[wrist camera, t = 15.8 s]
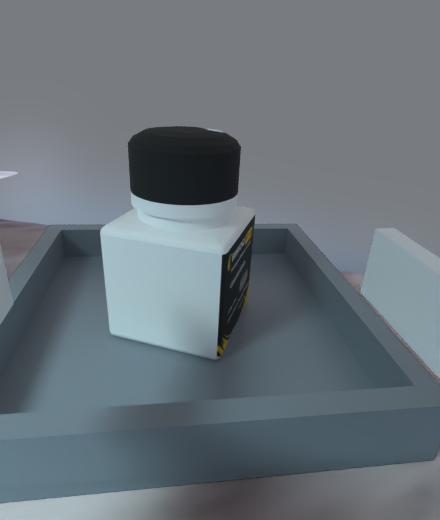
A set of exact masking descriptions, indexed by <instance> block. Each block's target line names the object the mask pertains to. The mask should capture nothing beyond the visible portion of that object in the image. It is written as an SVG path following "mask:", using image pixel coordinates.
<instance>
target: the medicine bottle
mask: <svg viewBox="0 0 440 520" xmlns="http://www.w3.org/2000/svg"><path fill="white" fill-rule="evenodd" d="M240 150H241V146H240V145H239V143H238V142H237V140H236V139H234V138H233V137H231V136H230V135H228V134H226V133H225V132H222V131H218V130H214V129H206V128H198V127H182V126H181V127H180V126H179V127H178V126H176V127H155V128H149V129H145V130H143V131H141V132H140V133H137V134H135V135H134V136H133V137H132V138H131V139H130V141H129V142H128V152H129V171H130V188H131V204H132V206H133V207H134V209H133V210H131V211H129V212H128V213H126V214H124V215H122V216H121V217H119V218H117V219H116V220H114V221H112V222H110V223H109V224H107V225H105V226H104V227H103V228H102V229H101V231H100V237H101V247H102V258H103V268H104V278H105V289H106V299H107V309H108V320H109V330H110V332H111V334H112V335H114V336H118V337H122V338H126V339H130V340H134V341H138V342H142V343H146V344H150V345H155V346H159V347H163V348H167V349H171V350H175V351H179V352H183V353H187V354H192V355H196V356H200V357H204V358H208V359H212V360H217V359H219V358H220V357H221V355H222V353H223V351H224V349H225V347H226V345H227V342H228V340H229V338H230V336H231V334H232V332H233V330H234V328H235V325H236V323H237V321H238V319H239V317H240V315H241V313H242V311H243V309H244V306H245V304H246V302H247V300H248V289H249V278H250V267H251V256H252V244H253V233H254V221H255V211H254V210H253V209H252V208H248V207H241V206H237V195H238V180H239V166H240Z"/></svg>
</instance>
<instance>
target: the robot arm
mask: <svg viewBox="0 0 440 520" xmlns="http://www.w3.org/2000/svg"><path fill="white" fill-rule="evenodd" d="M360 292H361V293H362V295H363V296H364V297H365V298H366V299H367V300H368V301H369V302H370V303H371V304H372V305H373V307H374V308H375V309H376V310H377V311H378V312H379V313H380V314H381V315H382V316H383V318H384V319H385V320H386V321H387V322H388V323H389V324H390V325H391V326H392V327H393V329H394V330H395V331H396V332H397V333H398V334H399V335H400V336H401V337H402V338H403V340H404V341H405V342H406V343H407V344H408V345H409V346H410V347H411V348H412V349H413V350H414V352H415V353H416V354H417V355H418V356H419V357H420V358H421V359H422V360H423V361H424V363H425V364H426V365H427V366H428V367H429V368H430V369H431V370H432V371H433V372H434V374H435V375H436V376H437V377H438V378H439V379H440V258H439V257H437V256H436V255H434V254H433V253H431V252H430V251H428V250H427V249H425V248H424V247H422V246H421V245H419V244H418V243H416V242H415V241H413V240H412V239H410V238H409V237H407V236H406V235H404V234H402V233H401V232H400V231H398V230H397V229H395V228H375V232H374V236H373V240H372V245H371V249H370V253H369V257H368V262H367V266H366V270H365V274H364V279H363V283H362V287H361V291H360ZM13 304H14V303H13V299H12V294H11V290H10V285H9V280H8V276H7V271H6V267H5V262H4V258H3V253H2V249H1V244H0V324H1V323H2V321H3V319H4V318H5V316H6V315H7V313H8V312H9V310H10V309H11V307H12V305H13Z"/></svg>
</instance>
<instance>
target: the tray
mask: <svg viewBox="0 0 440 520" xmlns="http://www.w3.org/2000/svg"><path fill="white" fill-rule="evenodd" d="M104 226H105V225H49V226H48V228H47V229H46V230H45V232H44V233H43V234H42V236H41V237H40V238H39V240H38V241H37V243H36V244H35V245H34V247H33V248H32V249H31V251H30V252H29V253H28V255H27V256H26V257H25V259H24V260H23V261H22V263H21V264H20V265H19V267H18V268H17V269H16V271H15V272H14V273H13V275H12V276H11V277H10V279H9V285H10V290H11V294H12V299H13V303H14V304H13V305H12V307H11V309H10V310H9V312H8V313H7V315H6V316H5V318H4V319H3V321H2V323H1V324H0V503H5V502H15V501H26V500H36V499H46V498H56V497H66V496H76V495H86V494H96V493H106V492H116V491H126V490H136V489H147V488H157V487H167V486H177V485H187V484H197V483H207V482H217V481H227V480H237V479H247V478H257V477H268V476H278V475H288V474H298V473H308V472H318V471H328V470H338V469H348V468H358V467H368V466H378V465H388V464H399V463H409V462H419V461H429V460H434V458H435V456H436V454H437V451H438V449H439V447H440V384H439V383H438V382H437V381H436V380H435V379H434V378H433V377H432V375H431V374H430V373H429V372H428V371H427V370H426V369H425V368H424V366H423V365H422V364H421V363H420V362H419V361H418V360H417V359H416V358H415V356H414V355H413V354H412V353H411V352H410V351H409V350H408V349H407V347H406V346H405V345H404V344H403V343H402V342H401V341H400V340H399V338H398V337H397V336H396V335H395V334H394V333H393V332H392V331H391V329H390V328H389V327H388V326H387V325H386V324H385V323H384V322H383V320H382V319H381V318H380V317H379V316H378V315H377V314H376V313H375V311H374V310H373V309H372V308H371V307H370V306H369V305H368V304H367V302H366V301H365V300H364V299H363V298H362V297H361V296H360V295H359V293H358V292H357V291H356V290H355V289H354V288H353V287H352V286H351V284H350V283H349V282H348V281H347V280H346V279H345V278H344V277H343V275H342V274H341V273H340V272H339V271H338V270H337V269H336V268H335V267H334V265H333V264H332V263H331V262H330V261H329V260H328V259H327V258H326V256H325V255H324V254H323V253H322V252H321V251H320V250H319V249H318V247H317V246H316V245H315V244H314V243H313V242H312V241H311V240H310V239H309V237H308V236H307V235H306V234H305V233H304V232H303V231H302V229H301V228H300V227H299V226H298V225H297V224H254V233H253V244H252V256H251V267H250V278H249V289H248V300H247V302H246V304H245V306H244V309H243V311H242V313H241V315H240V317H239V319H238V321H237V323H236V325H235V328H234V330H233V332H232V334H231V336H230V338H229V340H228V342H227V345H226V347H225V349H224V351H223V353H222V355H221V357H220V358H219V359H217V360H212V359H208V358H204V357H200V356H196V355H192V354H187V353H183V352H179V351H175V350H171V349H167V348H163V347H159V346H155V345H150V344H146V343H142V342H138V341H134V340H130V339H126V338H122V337H118V336H114V335H112V334H111V332H110V330H109V320H108V309H107V299H106V289H105V278H104V268H103V258H102V247H101V237H100V231H101V229H102V228H103V227H104Z"/></svg>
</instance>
